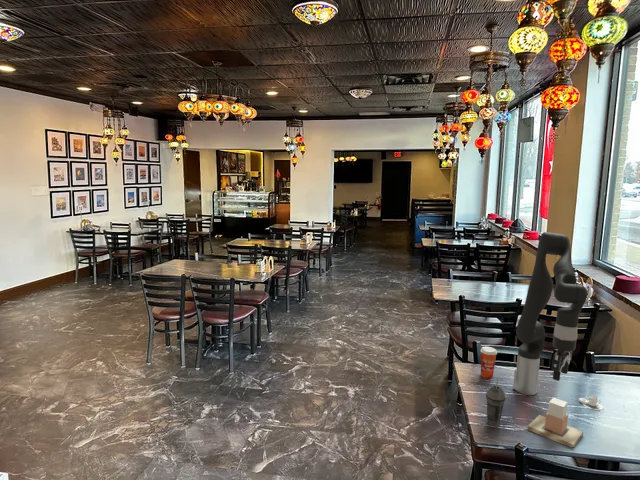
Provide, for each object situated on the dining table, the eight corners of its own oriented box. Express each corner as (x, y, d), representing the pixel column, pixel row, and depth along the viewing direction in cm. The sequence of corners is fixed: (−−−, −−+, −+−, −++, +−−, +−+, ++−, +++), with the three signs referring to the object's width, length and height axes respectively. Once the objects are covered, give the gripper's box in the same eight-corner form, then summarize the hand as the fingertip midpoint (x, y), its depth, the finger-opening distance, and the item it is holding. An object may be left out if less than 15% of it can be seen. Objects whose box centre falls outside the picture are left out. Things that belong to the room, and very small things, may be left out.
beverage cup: (502, 420, 174) (506, 374, 171) (503, 430, 167) (508, 382, 164) (483, 416, 176) (487, 371, 174) (483, 426, 170) (487, 378, 167)
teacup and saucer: (575, 402, 190) (576, 393, 190) (588, 399, 193) (589, 390, 193) (594, 412, 182) (595, 403, 182) (607, 409, 185) (608, 400, 185)
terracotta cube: (544, 428, 166) (546, 413, 166) (550, 422, 171) (551, 408, 170) (561, 435, 162) (563, 420, 161) (566, 428, 166) (568, 414, 165)
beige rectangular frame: (527, 429, 168) (528, 425, 168) (539, 418, 176) (539, 414, 176) (572, 448, 157) (573, 444, 156) (582, 435, 165) (583, 431, 165)
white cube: (547, 414, 165) (549, 402, 165) (552, 409, 169) (553, 397, 168) (562, 419, 162) (563, 407, 161) (566, 414, 165) (567, 402, 165)
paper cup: (480, 378, 210) (482, 351, 208) (477, 371, 218) (479, 345, 216) (497, 380, 209) (499, 352, 207) (493, 373, 217) (495, 346, 215)
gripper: (560, 328, 168) (556, 367, 171) (547, 337, 158) (542, 378, 161) (582, 334, 163) (577, 374, 165) (569, 343, 153) (564, 386, 156)
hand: (560, 376), depth 163 cm, fingers open, 8 cm apart
